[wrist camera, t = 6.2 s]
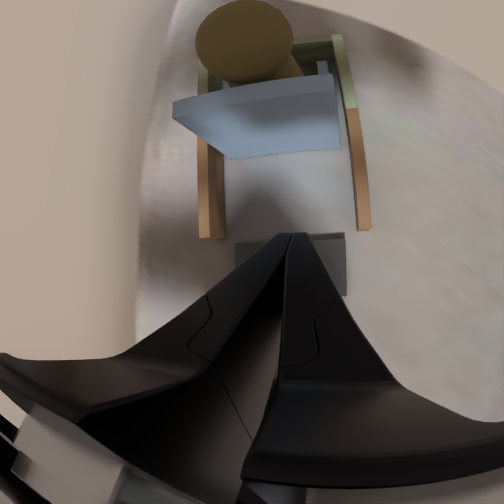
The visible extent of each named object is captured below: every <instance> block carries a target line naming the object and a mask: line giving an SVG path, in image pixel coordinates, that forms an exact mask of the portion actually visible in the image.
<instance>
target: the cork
mask: <svg viewBox="0 0 504 504" xmlns="http://www.w3.org/2000/svg"><path fill="white" fill-rule="evenodd" d="M292 47H293V36H292V30H291V27H290V24H289V22H288V21H287V19H286V18H285V17H284V15H283V14H282V13H281V12H280V11H279V10H278V9H276V8H275V7H273V6H271V5H270V4H267V3H265V2H261V1H257V0H239V1H235V2H231V3H228V4H226V5H224V6H222V7H219V8H218V9H216V10H215V11H213V12H212V13H211V14H209V15H208V16H207V17H206V19H205V20H204V21H203V22H202V23H201V25H200V27H199V29H198V32H197V35H196V47H195V48H196V51H197V54H198V56H199V59H200V61H201V64H202V65H203V66H204V67H205V68H206V69H207V70H208V71H209V72H210V73H212V74H213V75H214V76H215V77H217V78H219V79H222V80H224V81H227V83H228V85H229V87H230V88H233V87H238V86H243V85H248V84H254V83H259V82H266V81H272V80H279V79H286V78H293V77H302V76H304V74H303V72H302V70H301V69H300V67H299V65H298V64H297V62H296V60H295V59H294V57H293V55H292V54H291V50H292Z"/></svg>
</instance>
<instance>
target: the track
mask: <svg viewBox="0 0 504 504" xmlns="http://www.w3.org/2000/svg"><path fill="white" fill-rule="evenodd" d="M291 54H292V55H293V57H294V59H295V60H296V62H297V64H298V65H299V64H308V63H317V62H316V61H327V62H329V61H335V64H336V69H337V74H338V80H339V85H340V90H341V96H342V102H343V108H344V114H345V121H346V128H347V135H348V142H349V150H350V158H351V167H352V177H353V187H354V198H355V211H356V226H357V231H368V230H370V229H371V228H372V224H371V210H370V198H369V187H368V178H367V169H366V160H365V153H364V145H363V138H362V132H361V125H360V119H359V113H358V107H357V102H356V97H355V91H354V86H353V81H352V77H351V72H350V67H349V63H348V59H347V54H346V50H345V46H344V42H343V38H342V34H337V35H324V36H313V37H304V38H296V39H293V47H292V50H291ZM219 90H222V79H219V78H217V77H215V76H214V75H213V74H212V73H210V72H209V71H208V70H207V69H206V68H205V67H204V66H203V65H202V64H201V61H200V59H199V73H198V95H202V94H206V93H210V92H214V91H219ZM197 170H198V218H199V238H211V239H221V238H226V229H225V202H224V171H223V153H221V152H220V151H218V150H217V149H216V148H214V147H213V146H212V145H210V144H209V143H207V142H206V141H205V140H203V139H202V138H200V137H199V136H197Z"/></svg>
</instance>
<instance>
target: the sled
mask: <svg viewBox="0 0 504 504" xmlns="http://www.w3.org/2000/svg"><path fill="white" fill-rule="evenodd" d="M316 62H317V68H318V74H319V75H311V76H302V77H293V78H286V79H279V80H272V81H266V82H259V83H254V84H248V85H243V86H238V87H233V88H230V87H229V85H228V83H227V81H224V80H223V90H219V91H214V92H210V93H206V94H202V95H197V96H194V97H190V98H186V99H182V100H178V101H175V102H173V110H172V118H173V119H174V120H176V121H177V122H179V123H180V124H182V125H183V126H185V127H186V128H187V129H189V130H190V131H192V132H193V133H195V134H196V135H197V136H199V137H200V138H202V139H203V140H205V141H206V142H207V143H209V144H210V145H212V146H213V147H214V148H216V149H217V150H218V151H220V152H221V153H223V154H224V155H225V156H227V157H228V158H229V159H231V160H232V159H239V158H247V157H254V156H262V155H271V154H280V153H289V152H299V151H310V150H323V149H337V148H340V141H339V126H338V113H337V102H336V91H335V85H334V80H333V74H329V70H328V65H327V61H316Z"/></svg>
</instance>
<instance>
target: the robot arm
mask: <svg viewBox="0 0 504 504" xmlns="http://www.w3.org/2000/svg"><path fill="white" fill-rule="evenodd" d="M278 360H279V364H278V377H277V381H276V380H275V379H273V378H274V374H275V371H276V367H277V363H278ZM0 390H1V391H2V392H3V393H5V394H6V395H7V396H8V397H9V398H10V399H11V400H12V401H13V402H14V403H16V404H17V405H18V406H19V407H20V408H21V409H22V410H24V411H25V412H26V413H27V415H26V417H25V419H24V420H23V422H22V424H21V426H20V428H19V429H18V428H17V427H16V426H14V425H13V424H12V423H10V422H9V421H8V420H7V419H5V418H4V417H3V416H2V415H1V414H0V504H504V421H502V422H482V421H476V420H472V419H470V418H467V417H464V416H462V415H460V414H458V413H455V412H453V411H451V410H449V409H447V408H445V407H443V406H440V405H438V404H436V403H434V402H432V401H430V400H428V399H426V398H424V397H422V396H420V395H418V394H416V393H414V392H412V391H410V390H408V389H406V388H405V387H404V386H402V385H401V384H400V383H399V382H398V381H397V380H396V379H395V377H394V376H393V375H392V373H391V372H390V371H389V369H388V368H387V367H386V365H385V364H384V362H383V361H382V359H381V358H380V357H379V355H378V354H377V352H376V351H375V350H374V348H373V347H372V345H371V344H370V343H369V341H368V340H367V338H366V337H365V336H364V334H363V333H362V331H361V330H360V328H359V327H358V325H357V324H356V322H355V321H354V319H353V317H352V315H351V313H350V312H349V310H348V308H347V306H346V304H345V302H344V300H343V299H342V297H341V295H340V293H339V291H338V289H337V287H336V285H335V283H334V281H333V279H332V277H331V276H330V274H329V272H328V270H327V268H326V266H325V264H324V262H323V261H322V259H321V257H320V255H319V253H318V251H317V249H316V248H315V246H314V244H313V242H312V240H311V238H310V237H309V235H308V233H306V232H297V233H293V235H292V233H278V234H276V235H275V236H274V237H273V238H272V239H270V240H269V241H268V242H267V243H266V244H264V245H263V246H262V247H261V248H260V249H258V250H257V251H256V252H255V253H254V254H252V255H251V256H250V257H249V258H248V259H246V260H245V261H244V262H243V263H242V264H240V265H239V266H238V267H237V268H236V269H234V270H233V271H232V272H231V273H230V274H228V275H227V276H226V277H225V278H224V279H222V280H221V281H220V282H219V283H218V284H216V285H215V286H214V287H213V288H211V289H210V290H209V291H208V292H207V293H206V294H205V295H203V296H202V297H200V298H199V299H198V300H197V301H196V302H194V303H193V304H192V305H191V306H189V307H188V308H187V309H186V310H184V311H183V312H182V313H180V314H179V315H178V316H176V317H175V318H173V319H172V320H171V321H169V322H168V323H166V324H165V325H164V326H162V327H161V328H159V329H158V330H156V331H155V332H153V333H152V334H150V335H149V336H147V337H146V338H144V339H143V340H142V341H140V342H139V343H137V344H136V345H134V346H133V347H131V348H130V349H128V350H127V351H125V352H123V353H121V354H119V355H116V356H113V357H109V358H104V359H86V360H45V361H44V360H41V361H40V360H39V361H38V360H23V359H19V358H16V357H13V356H11V355H9V354H7V353H0Z"/></svg>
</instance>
